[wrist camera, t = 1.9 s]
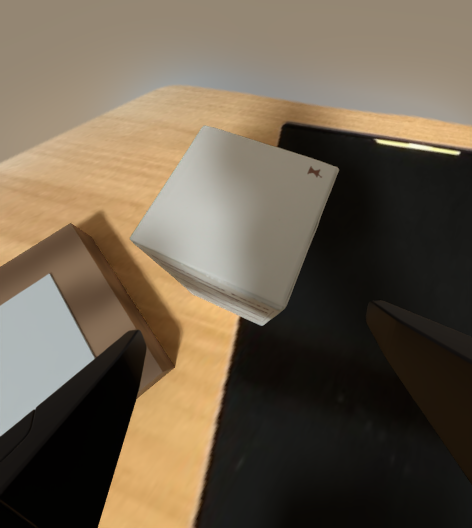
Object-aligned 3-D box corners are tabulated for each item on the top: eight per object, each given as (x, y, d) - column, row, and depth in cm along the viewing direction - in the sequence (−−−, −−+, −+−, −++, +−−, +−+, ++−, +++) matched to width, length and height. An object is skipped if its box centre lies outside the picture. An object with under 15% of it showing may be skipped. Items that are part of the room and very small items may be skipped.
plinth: (174, 367, 19) (162, 372, 16) (-6, 515, 17) (-61, 554, 14) (91, 237, 24) (69, 222, 21) (-63, 336, 21) (-114, 336, 18)
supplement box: (224, 231, 23) (204, 117, 11) (292, 259, 22) (347, 163, 10) (190, 295, 21) (121, 237, 9) (262, 330, 20) (288, 314, 8)
